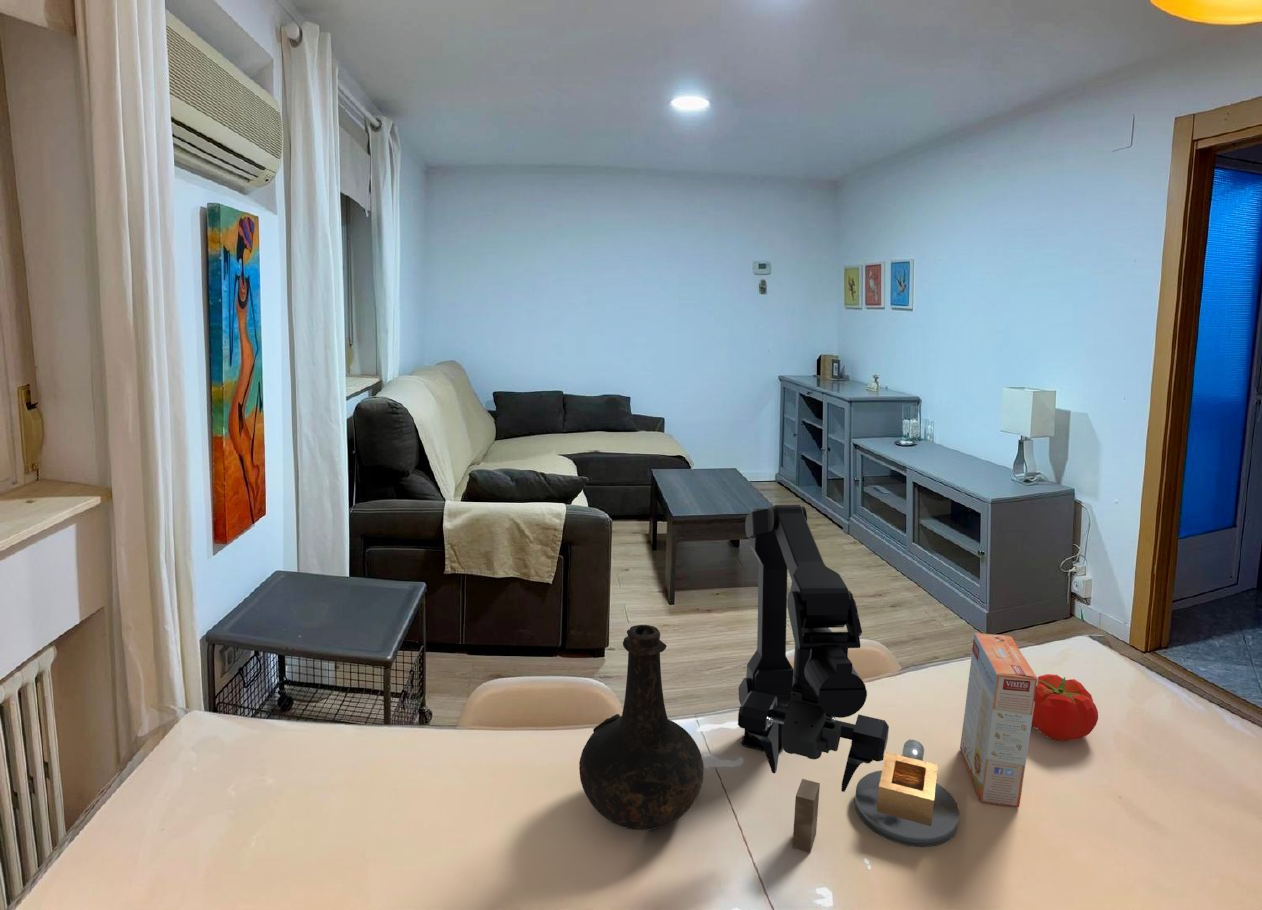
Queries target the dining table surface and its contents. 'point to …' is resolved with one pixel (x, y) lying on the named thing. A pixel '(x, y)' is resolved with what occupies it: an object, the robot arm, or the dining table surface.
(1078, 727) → the tomato
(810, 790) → the block
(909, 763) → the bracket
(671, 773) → the glass bottle
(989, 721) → the cracker box
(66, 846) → the dining table surface
